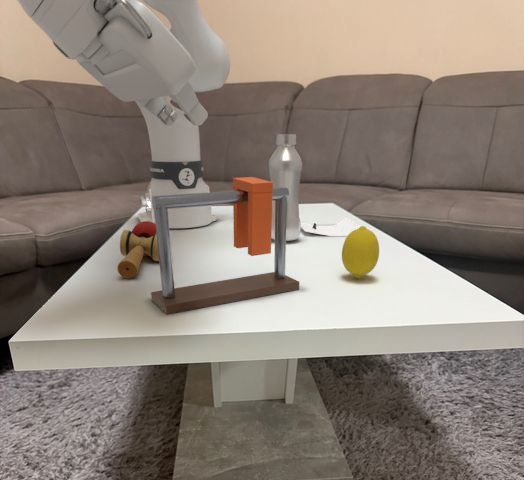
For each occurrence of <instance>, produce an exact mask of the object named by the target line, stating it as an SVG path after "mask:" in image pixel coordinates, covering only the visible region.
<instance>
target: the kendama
mask: <svg viewBox="0 0 524 480" xmlns="http://www.w3.org/2000/svg"><path fill="white" fill-rule="evenodd" d="M119 241H120V242H119V250H120V254H121V256H124V258H123V259H121V261H120V262H119V263H118V265H117V272H118V274H119V275H120V276H121V277H122V278H123V279H129V280H130V279H133V278H135V277H136V276H137V274H138V270H139V268H140V265H141V263H142V260H143V257H144V256H149V257H150V258H151V259H152V260H153V261H154V262H159V254H158V244H157V234H156V224H155V223H153V222H149V221H145V222H138V223H137V224H135V226H133V228H132V230H130V229H129V230H128V229H123V231H122V233H121V235H120V240H119Z"/></svg>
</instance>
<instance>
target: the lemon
mask: <svg viewBox="0 0 524 480" xmlns="http://www.w3.org/2000/svg"><path fill="white" fill-rule="evenodd" d="M360 226H361V225H360ZM379 257H380V243H379V240H378V237H377V235H376V234H375V233H374V232H373V231H372V230H370V229H368V228H367V227H366V226H364V225H362V226H361V227H359V228H358V229H356V230H354V231H352V232H351V233H350V234H349V235H348V236H345V239H344V242H343V245H342V248H341V261H342V264H343V266H344V268H345V270H346V271H347V272H348V273H350V274H351V275H353V276H354V278H355V279H361V278H362V277H363V276H364V275H367V274H369V273H371V272H372V271H373V270H375V267H376V266H377V264H378V261H379Z"/></svg>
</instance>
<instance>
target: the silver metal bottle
mask: <svg viewBox="0 0 524 480" xmlns="http://www.w3.org/2000/svg"><path fill="white" fill-rule="evenodd" d="M275 138H276V140H275V145H276V148H275V150H274V152H273V153H272V155H271V156H270V158H269V161H268V164H267V165H268V174H269V181H270V182H273V188H283V187H286V188H288V190H289V197H288V199H287V218H286V242H290V241H296V240H298V238H299V237H300V235H301V230H302V227H301V224H300V222H301V218H300V211H299V210H300V207H299V196H300V195H299V193H300V183H301V177H302V170H303V161H302V158H301V156H300V154H299V153H298V151H297V150H296V145H297V134H296V133H276V137H275ZM271 240H274V241H275V201H272V231H271Z"/></svg>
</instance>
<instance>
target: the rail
mask: <svg viewBox="0 0 524 480" xmlns="http://www.w3.org/2000/svg"><path fill="white" fill-rule="evenodd" d="M288 197H289V190H288V188H286V187H283V188H273V196H272V201H275V240H274V262H273V263H274V266H273V267H274V269H273V270H274V271H272V272H266V273H259V274H254V275H248V276H247V275H246V276H241V277H236V278H235V277H234V278H229V279H223V280H216V281H211V282H205V283H197V284H191V285H186V286H180V287H175V277H174V267H173V254H172V243H171V232H170V231H171V230H170V228H169V219H168V209H178V208H190V207H203V206H211V207H213V206H225V205H233V204H239V203H248V192H246V191H243V190H239V191H233V190H225V191H212V192H211V191H210V192H209V193H194V194H179V195H165V196H153V197H152V206H153V209H154V214H155V224H156V234H157V244H158V254H159V261H158V263H159V271H160V281H161V282H160V283H161V290H155V291H151V292H150V296H151V301H152V302H153V303H154V304H155V305H156V306H157V307H158V308H159V309H160V310H161V311H162V312H163V313H164V314H165V315H171V314H177V313H181V312H186V311H187V312H188V311H192V310H197V309H201V308H202V309H203V308H209V307H214V306H219V305H225V304H230V303H236V302H240V301H245V300H250V299H255V298H261V297H267V296H271V295H277V294H282V293H283V294H284V293H288V292H293V291H299V290H300V281H299V280H297V279H295V278H292V277H290V276H289V275H286V261H287V260H286V256H287V255H286V254H287V253H286V252H287V241H286V218H287V199H288Z"/></svg>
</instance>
